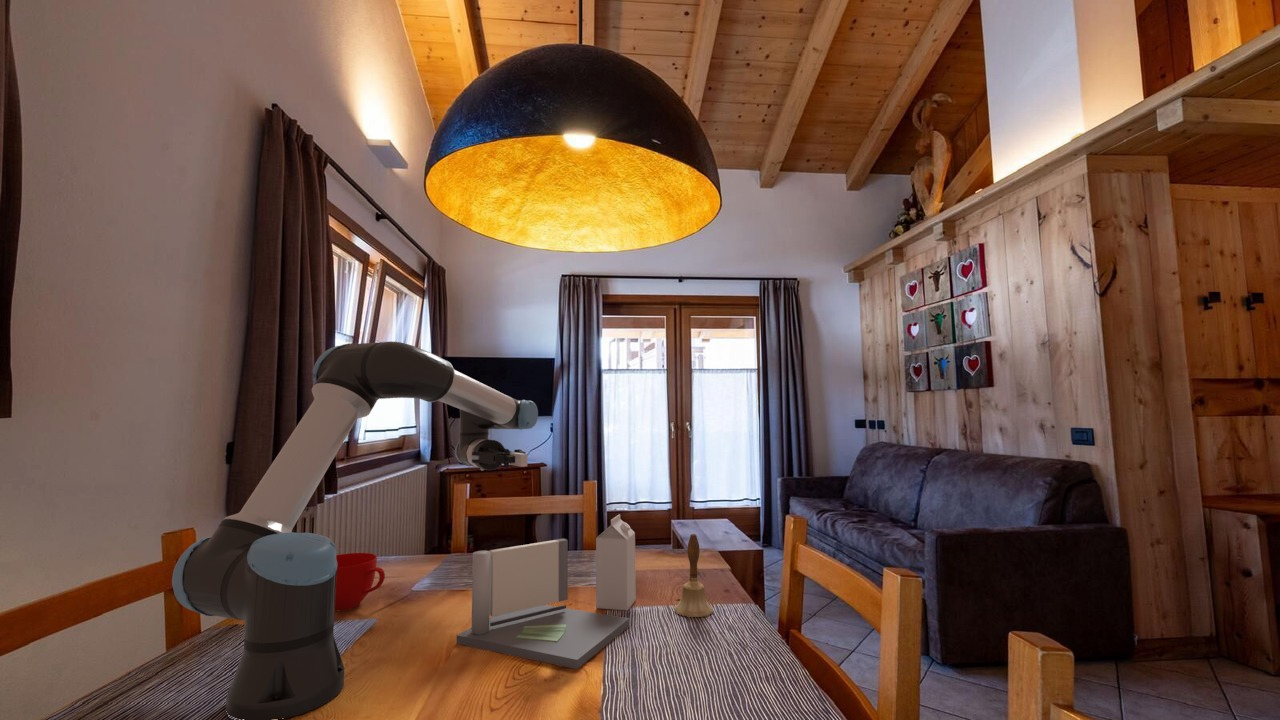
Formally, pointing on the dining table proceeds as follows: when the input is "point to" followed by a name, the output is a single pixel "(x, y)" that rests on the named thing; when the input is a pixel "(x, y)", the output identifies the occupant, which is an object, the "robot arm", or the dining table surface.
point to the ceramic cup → (355, 578)
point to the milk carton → (615, 566)
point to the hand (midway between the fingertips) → (524, 460)
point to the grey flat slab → (549, 635)
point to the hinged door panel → (518, 581)
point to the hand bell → (693, 587)
